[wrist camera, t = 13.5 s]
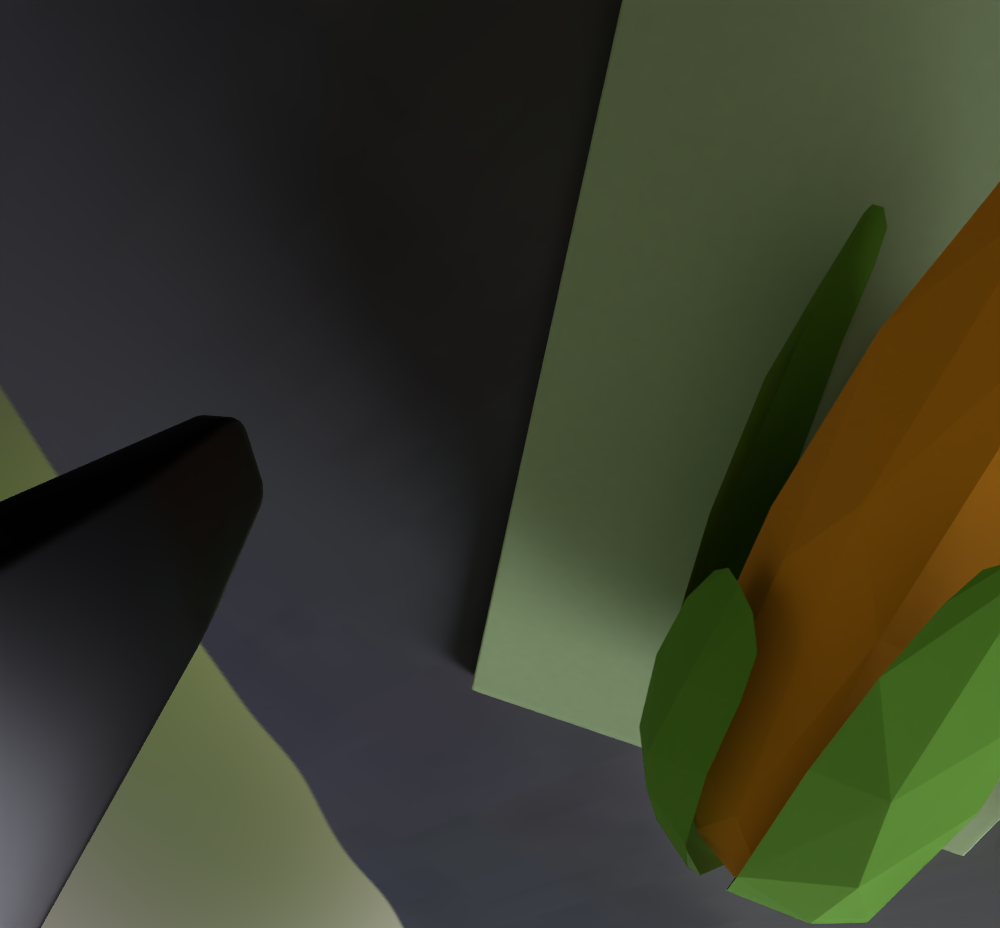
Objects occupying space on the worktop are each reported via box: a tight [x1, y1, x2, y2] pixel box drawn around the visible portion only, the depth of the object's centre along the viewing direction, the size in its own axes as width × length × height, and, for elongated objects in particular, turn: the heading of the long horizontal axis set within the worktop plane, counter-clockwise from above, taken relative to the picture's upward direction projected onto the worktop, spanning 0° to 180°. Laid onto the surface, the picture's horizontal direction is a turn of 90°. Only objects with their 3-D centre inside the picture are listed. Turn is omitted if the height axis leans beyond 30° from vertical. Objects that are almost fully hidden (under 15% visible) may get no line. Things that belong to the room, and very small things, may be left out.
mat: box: [472, 0, 1000, 856], centre depth 21 cm, size 16×24×1 cm, turn 172°
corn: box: [639, 182, 1000, 924], centre depth 18 cm, size 7×8×20 cm
